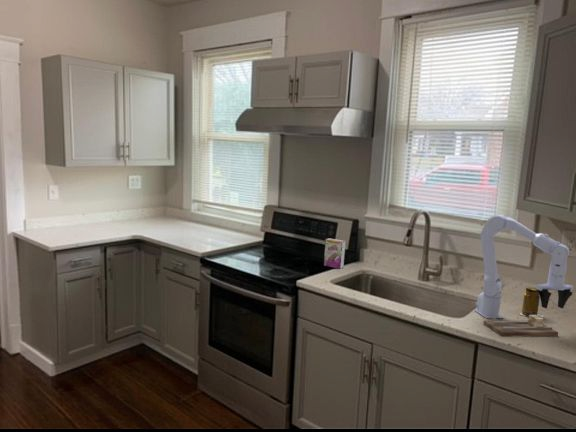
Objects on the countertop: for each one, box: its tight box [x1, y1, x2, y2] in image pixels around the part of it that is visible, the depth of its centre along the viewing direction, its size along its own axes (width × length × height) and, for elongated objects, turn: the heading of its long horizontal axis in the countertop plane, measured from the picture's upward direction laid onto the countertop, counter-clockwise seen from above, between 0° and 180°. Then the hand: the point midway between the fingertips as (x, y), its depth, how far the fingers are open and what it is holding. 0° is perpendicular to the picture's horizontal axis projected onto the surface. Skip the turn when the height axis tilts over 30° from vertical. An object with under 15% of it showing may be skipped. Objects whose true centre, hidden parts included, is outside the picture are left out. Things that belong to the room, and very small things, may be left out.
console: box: [483, 320, 559, 337], centre depth 176 cm, size 12×24×2 cm, turn 98°
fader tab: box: [527, 315, 544, 327], centre depth 176 cm, size 4×3×4 cm
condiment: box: [519, 286, 545, 319], centre depth 193 cm, size 7×8×12 cm
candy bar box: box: [323, 238, 346, 270], centre depth 259 cm, size 11×5×16 cm, turn 59°
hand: (552, 307), depth 176 cm, fingers open, 7 cm apart
